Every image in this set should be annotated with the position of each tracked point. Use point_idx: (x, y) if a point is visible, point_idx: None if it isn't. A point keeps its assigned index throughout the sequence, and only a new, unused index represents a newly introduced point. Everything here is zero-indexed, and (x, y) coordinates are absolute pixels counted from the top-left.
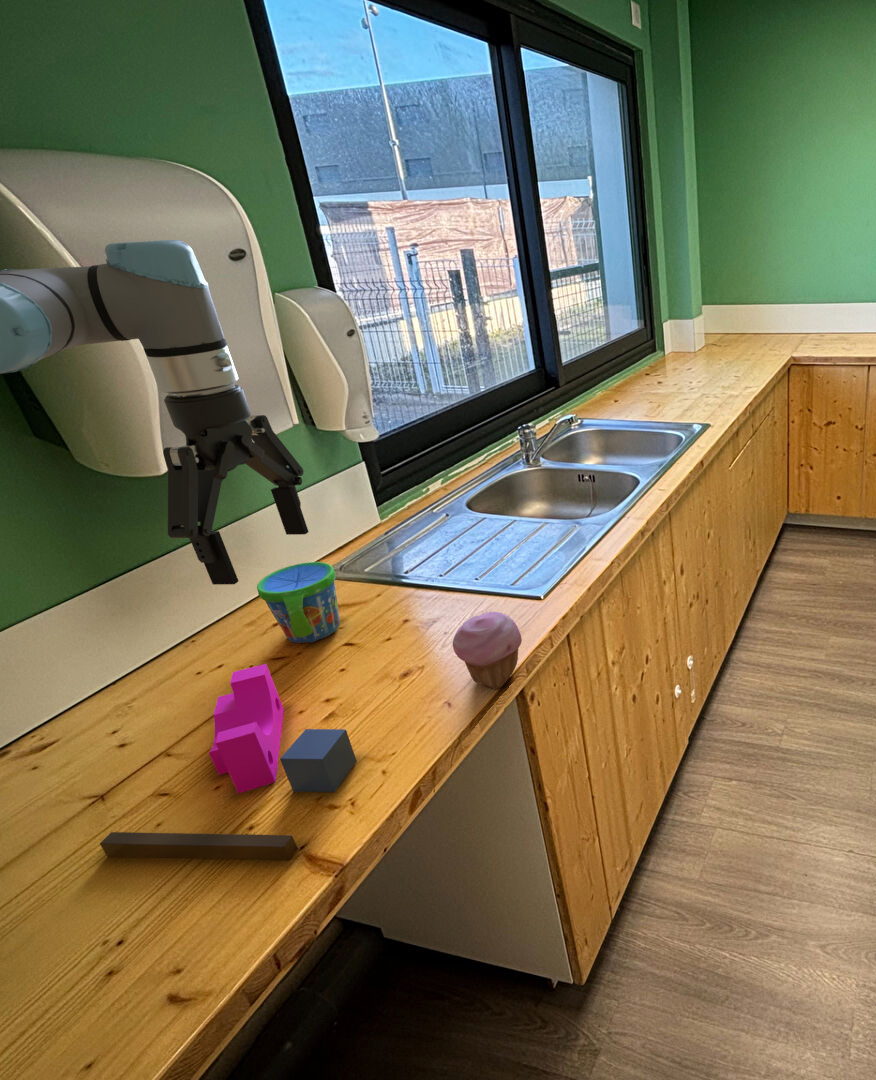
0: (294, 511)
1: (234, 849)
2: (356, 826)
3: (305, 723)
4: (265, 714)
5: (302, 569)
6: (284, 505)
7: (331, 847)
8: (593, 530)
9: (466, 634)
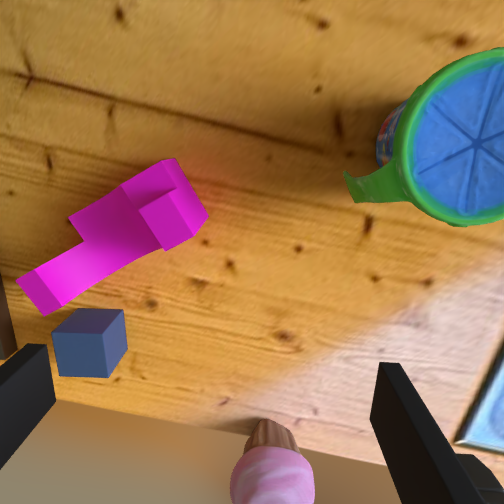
0: (402, 493)
1: None
2: None
3: (183, 260)
4: (146, 244)
5: None
6: (424, 492)
7: None
8: None
9: (246, 498)
